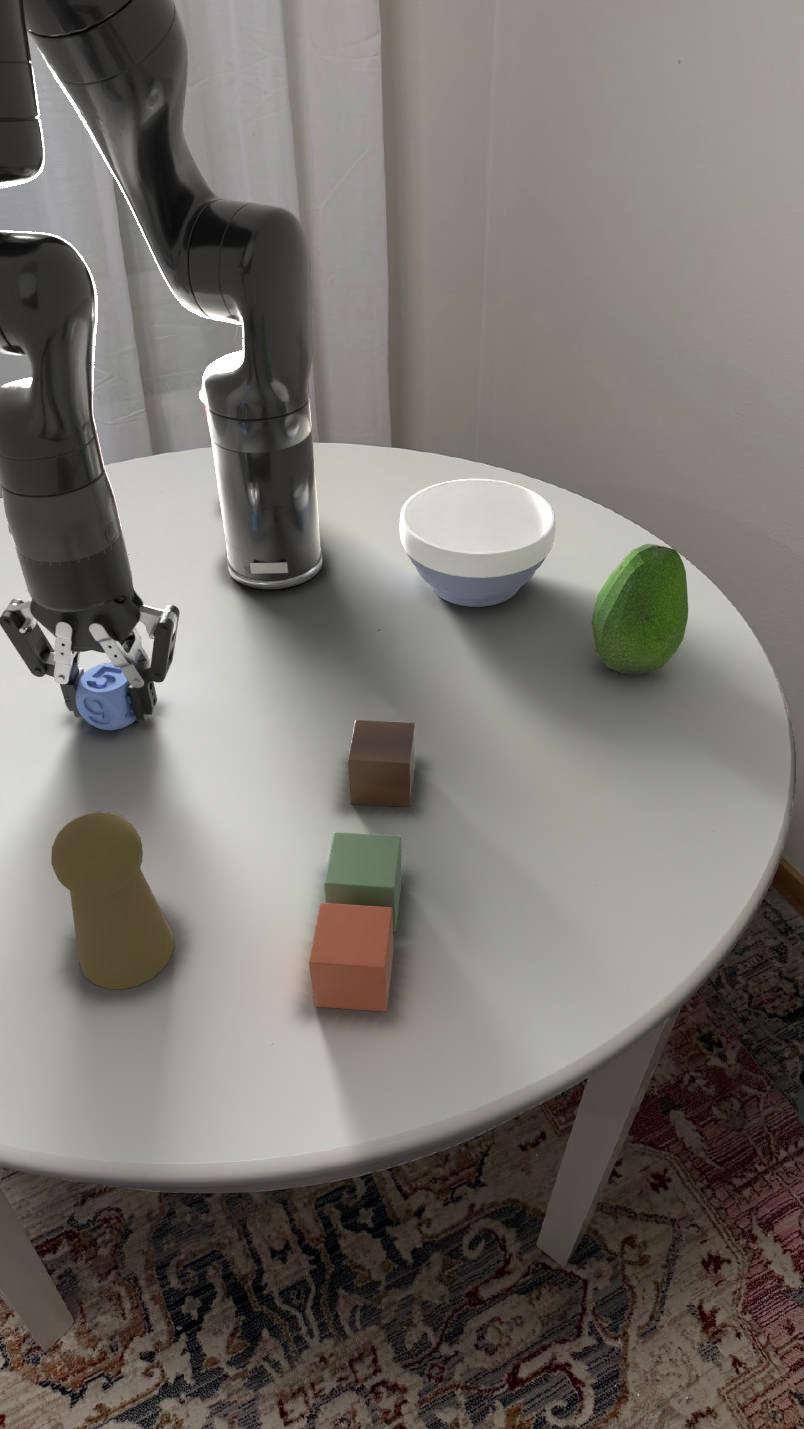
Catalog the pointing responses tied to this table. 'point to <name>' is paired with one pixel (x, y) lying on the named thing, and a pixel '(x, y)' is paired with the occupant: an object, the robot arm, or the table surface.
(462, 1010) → the table surface
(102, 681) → the decorative dice
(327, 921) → the terracotta block
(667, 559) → the avocado
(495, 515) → the bowl
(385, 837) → the sage block
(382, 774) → the walnut block
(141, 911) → the tan ball-topped figurine
